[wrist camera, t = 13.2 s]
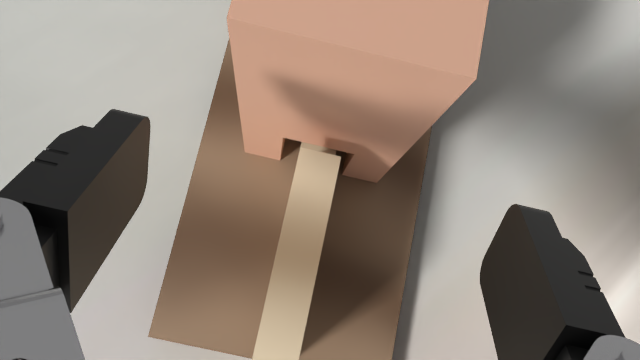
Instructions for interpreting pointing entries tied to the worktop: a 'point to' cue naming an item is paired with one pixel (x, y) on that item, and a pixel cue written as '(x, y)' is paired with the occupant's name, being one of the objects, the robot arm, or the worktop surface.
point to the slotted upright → (351, 73)
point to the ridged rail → (287, 248)
